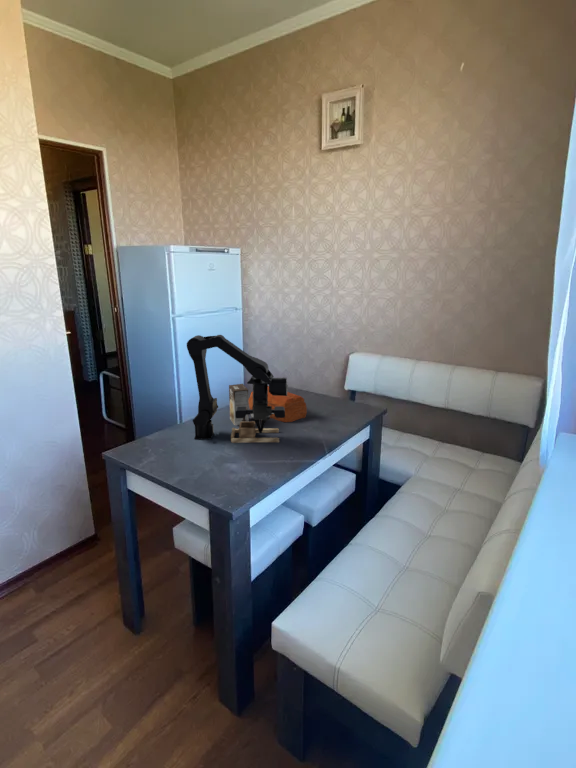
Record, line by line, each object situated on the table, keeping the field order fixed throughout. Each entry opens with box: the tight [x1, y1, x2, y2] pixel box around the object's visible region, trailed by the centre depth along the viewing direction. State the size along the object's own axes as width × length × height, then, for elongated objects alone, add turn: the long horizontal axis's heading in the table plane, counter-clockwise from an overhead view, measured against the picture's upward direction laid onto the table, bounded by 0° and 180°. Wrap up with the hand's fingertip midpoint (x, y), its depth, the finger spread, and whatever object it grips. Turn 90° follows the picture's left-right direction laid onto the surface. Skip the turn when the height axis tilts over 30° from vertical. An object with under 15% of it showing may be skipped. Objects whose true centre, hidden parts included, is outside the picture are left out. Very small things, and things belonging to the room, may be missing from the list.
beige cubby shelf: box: [230, 427, 280, 444], centre depth 164 cm, size 20×12×3 cm, turn 93°
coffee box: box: [228, 383, 250, 427], centre depth 179 cm, size 9×6×16 cm
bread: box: [248, 385, 308, 423], centre depth 191 cm, size 16×27×11 cm, turn 44°
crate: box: [238, 421, 257, 438], centre depth 164 cm, size 6×7×5 cm
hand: (260, 432), depth 164 cm, fingers closed
